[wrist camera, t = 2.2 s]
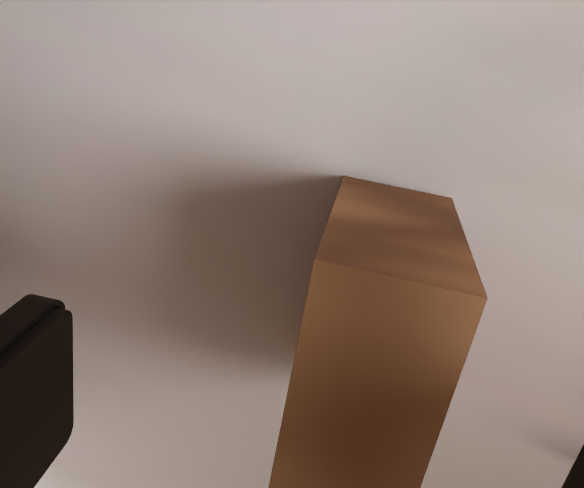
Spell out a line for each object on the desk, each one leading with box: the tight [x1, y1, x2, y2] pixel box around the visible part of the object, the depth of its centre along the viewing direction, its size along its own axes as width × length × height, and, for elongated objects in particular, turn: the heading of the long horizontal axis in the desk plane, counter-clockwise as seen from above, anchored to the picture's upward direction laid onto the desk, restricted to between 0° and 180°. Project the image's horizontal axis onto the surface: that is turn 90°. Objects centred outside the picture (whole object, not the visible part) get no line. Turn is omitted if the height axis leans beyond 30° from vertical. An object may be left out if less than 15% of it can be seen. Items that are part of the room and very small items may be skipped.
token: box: [269, 176, 487, 488], centre depth 13 cm, size 3×6×6 cm, turn 171°
